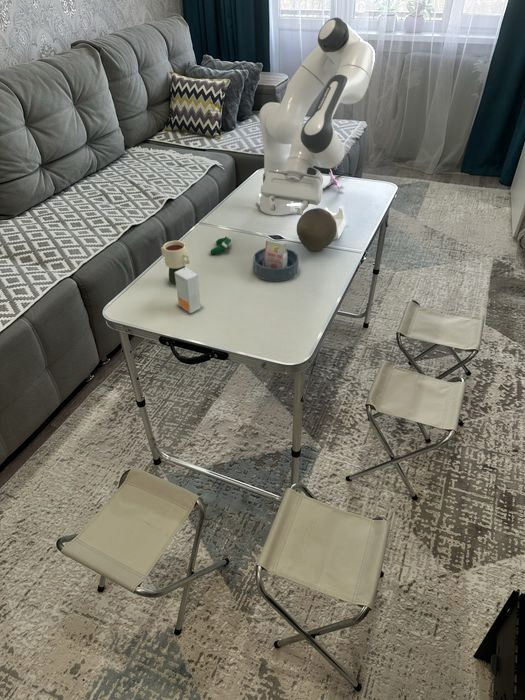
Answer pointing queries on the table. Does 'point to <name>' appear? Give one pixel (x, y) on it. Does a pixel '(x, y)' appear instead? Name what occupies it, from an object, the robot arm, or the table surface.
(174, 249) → the character mug
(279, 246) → the white printed carton
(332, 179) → the lily
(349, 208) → the table surface
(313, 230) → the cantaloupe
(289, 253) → the bowl
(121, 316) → the table surface
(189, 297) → the cosmetic box
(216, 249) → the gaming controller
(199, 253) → the table surface
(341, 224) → the bracket
